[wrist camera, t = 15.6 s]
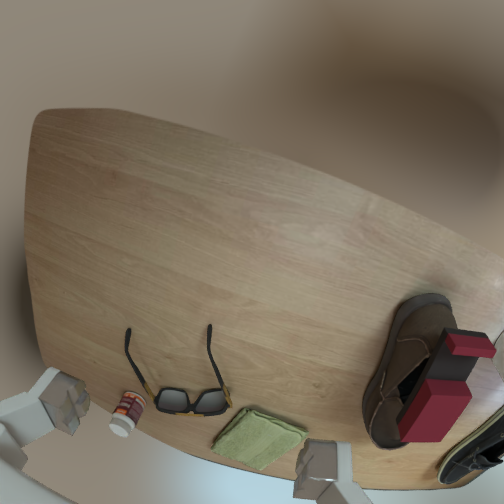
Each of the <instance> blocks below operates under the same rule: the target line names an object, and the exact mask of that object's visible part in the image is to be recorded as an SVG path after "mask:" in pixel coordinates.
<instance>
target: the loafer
mask: <svg viewBox="0 0 504 504" xmlns="http://www.w3.org/2000/svg"><path fill="white" fill-rule="evenodd" d="M444 327H446V328H453V329H458V328H457V324H456V321H455V318H454V316H453V314H452V307H451V304H450V302H449V300H448V299H447V298H446V297H445V296H443V295H440V294H434V293H429V294H422V295H418V296H415V297H413V298H411V299H409V300H408V301H406V302H405V303H404V304H403V305H402V306H401V307H400V309H399V311H398V312H397V315H396V317H395V320H394V323H393V326H392V329H391V333H390V336H389V340H388V344H387V347H386V350H385V353H384V356H383V359H382V362H381V365H380V367H379V369H378V371H377V373H376V375H375V377H374V378H373V380H372V381H371V383H370V384H369V386H368V388H367V390H366V393H365V395H364V398H363V405H362V409H363V418H364V423H365V427H366V430H367V432H368V434H369V436H370V438H371V440H372V442H373V443H374V444H375V445H376V447H378V448H380V449H383V450H389V451H390V450H394V449H399V448H402V447H404V446H406V445H407V444H409V443H410V442H401V440H400V435H399V430H398V425H397V424H396V417H397V416H398V414H399V412H400V411H401V409H402V407H403V406H404V404H405V402H406V401H407V399H408V397H409V395H410V394H411V392H412V390H413V388H414V387H415V385H416V383H417V381H418V379H419V377H420V375H421V374H422V372H423V370H424V368H425V366H426V364H427V362H428V360H429V358H430V356H431V354H432V352H433V350H434V348H435V346H436V344H437V341H438V339H439V337H440V335H441V333H442V331H443V328H444Z"/></svg>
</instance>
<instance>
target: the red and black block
mask: <svg viewBox="0 0 504 504" xmlns="http://www.w3.org/2000/svg"><path fill="white" fill-rule="evenodd" d="M496 352H497V350H496V348H495V347H494V346H493V344H492V343H491V341H490V340H489V338H488V336H487V335H486V334H485V333H482V332H475V331H467V330H460V329H453V328H446V327H444V328H443V331H442V333H441V335H440V337H439V339H438V341H437V344H436V346H435V348H434V350H433V352H432V354H431V356H430V358H429V360H428V362H427V364H426V366H425V368H424V370H423V372H422V374H421V375H420V377H419V379H418V381H417V383H416V385H415V387H414V388H413V390H412V392H411V394H410V395H409V397H408V399H407V401H406V402H405V404H404V406H403V407H402V409H401V411H400V412H399V414H398V416H397V417H396V424H397V425H398V430H399V435H400V440H401V442H441V440H442V439H443V438H444V436H445V435H446V434H447V432H448V431H449V430H450V428H451V427H452V426H453V424H454V423H455V422H456V420H457V419H458V417H459V416H460V415H461V413H462V412H463V410H464V409H465V407H466V406H467V404H468V403H469V401H470V400H471V398H472V394H471V392H470V390H469V388H468V386H467V384H466V382H465V381H466V380H467V378H468V376H469V375H470V373H471V371H472V369H473V367H474V366H475V364H476V362H477V360H478V358H479V357H486V358H493V357H494V355H495V353H496Z"/></svg>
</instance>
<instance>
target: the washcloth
mask: <svg viewBox="0 0 504 504" xmlns="http://www.w3.org/2000/svg"><path fill="white" fill-rule="evenodd" d="M308 434H309V431H305V429H304V428H300V427H296V426H295V425H292V424H289V423H285V422H283V421H282V420H279V419H276V418H273V417H271V416H268V415H264V414H261V413H259V412H257V411H255V410H252V411H251V410H250V409H247V408H244V409H243V410H241V412H240V413H239V414H238V415H237V417H235V418H234V419H233V421H232V422H231V423H230V424H229V425H228V426H227V427H226V428H225V430H224V431H223V432H222V433H221V434H220V435H219V437H218V438H217V439H216V441H214V443H213V445H212V447H211V451H212V452H214V453H217V454H219V455H222V456H224V457H228V458H230V459H235V460H237V461H239V462H242V463H244V464H245V465H247V466H249V467H252V468H255V469H257V470H262V469H264V468H265V467H267V465H268V464H270V463H271V462H273V461H275V460H276V459H277V458H279V457H280V456H282V455H283V454H284V453H286V452H287V451H289V450H291V449H292V448H294V447H295V446H297V445H298V444H299V443H300V442H301V441H302V440H303V439H305V438H306V436H307V435H308Z"/></svg>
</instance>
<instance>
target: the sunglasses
mask: <svg viewBox="0 0 504 504" xmlns="http://www.w3.org/2000/svg"><path fill="white" fill-rule="evenodd" d="M211 335H212V325H211V324H209V325H208V330H207V351H208V355H209V358H210V360H211V363H212V366H213V368H214V371H215V373H216V376H217V378H218V381H219V383H220V386H221V389H213V390H208V391H204V392H203V393H202V394H201V395H200V396H199V397H198V399H197V400H196V402H195V403H194V404H190V401H189V397H188V394H187V393H186V392H185V391H184V390H180V389H176V388H162V389H161V390H160V391H159V393H158V395H157V396H154V395H153V393H152V392H151V390H150V388H149V386H148V385H147V383H146V381H145V380H144V378H143V376H142V375H141V373H140V371H139V369H138V368H137V366H136V365H135V363H134V362H133V360H132V359H131V357H130V354H129V352H128V346H129V341H130V336H131V329H130V328H128V329H127V331H126V336H125V353H126V355H127V357H128V360H129V362H130V363H131V365H132V367H133V369H134V371H135V373H136V375H137V376H138V378H139V380H140V382H141V383H142V385H143V387H144V388H145V390H146V392H147V393H148V395H149V396H150V398H151V400H152V401H153V403H154V404H155V405H156V408H157V409H158V410H159V411H160V412H164V413H169V414H174V415H182V416H200V417H205V416H214V415H221V414H223V413H224V412H225V411H226V410H227V408H232V401H231V399H230V393H229V392H228V390H227V389H226V386H225V384H224V382H223V380H222V377H221V375H220V372H219V370H218V368H217V366H216V364H215V362H214V360H213V357H212V354H211V350H210V344H211ZM189 411H193V412H194V414H187V413H188V412H189Z"/></svg>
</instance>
